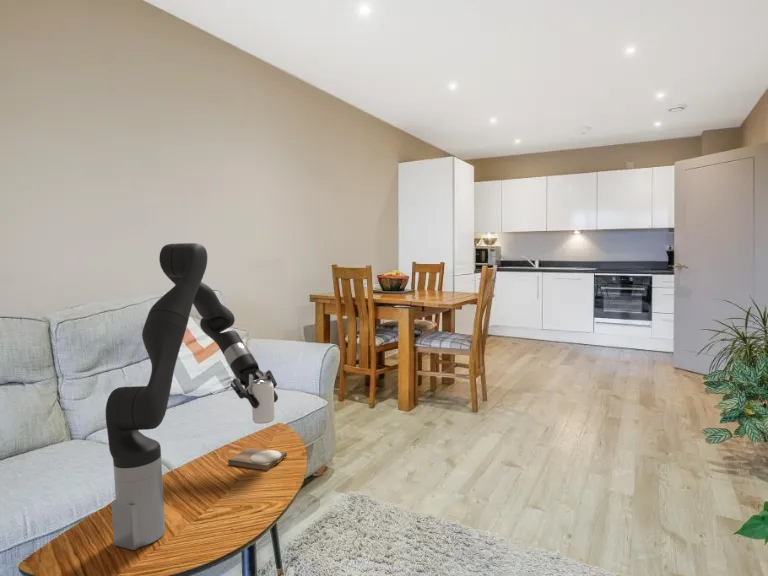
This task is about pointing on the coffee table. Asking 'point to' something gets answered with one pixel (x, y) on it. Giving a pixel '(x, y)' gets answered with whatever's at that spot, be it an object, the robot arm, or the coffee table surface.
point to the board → (257, 458)
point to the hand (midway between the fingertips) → (266, 403)
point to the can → (263, 401)
